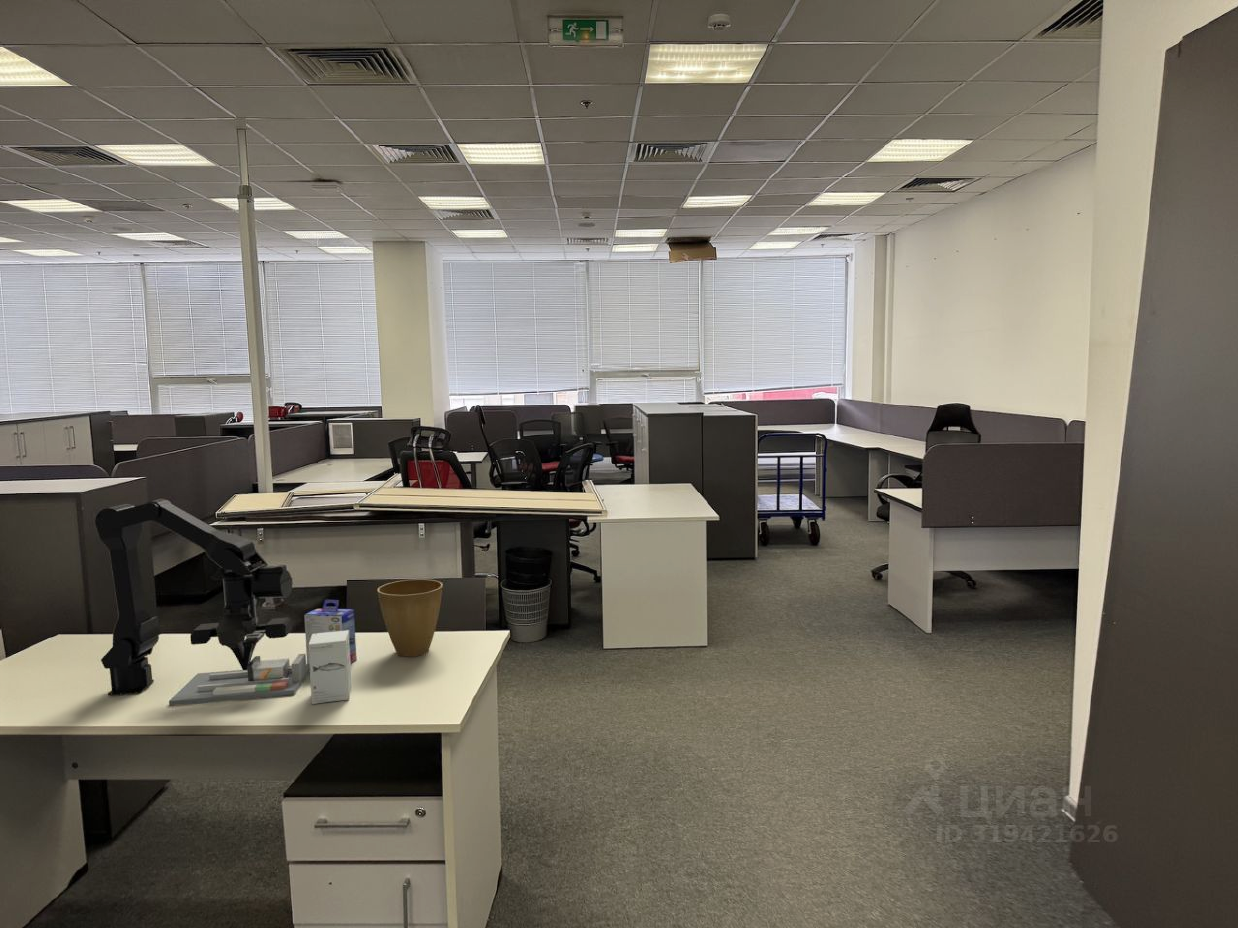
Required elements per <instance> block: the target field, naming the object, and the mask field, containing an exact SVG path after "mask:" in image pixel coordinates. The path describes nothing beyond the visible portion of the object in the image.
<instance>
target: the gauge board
mask: <svg viewBox="0 0 1238 928" xmlns="http://www.w3.org/2000/svg"><path fill="white" fill-rule="evenodd" d="M309 674H310V664H307V654H306V653H299V654H297V656H296V658H295V659H294V660H293V661H292V663H291V665H290V673H289V674H288V675H287V677H286V678H281V679H269V680H258V681H248V672H247V670H243V669H237V670H234V669H233V670H224V671H223V670H222V671H212V672H210V671H209V672H200V673H199V672H198V673H196V674H195V675H194V677H192V678H191V679H190V680H189V681H188V682H186V684H185V685H184V686H183V687H182V688H181V689H180V690H178V691H177V693H176V694H174V696H173V697H171V698H170V700H169V701H168V705H169V706H170V707H173V706H181V705H182V706H183V705H193V704H195V705H196V704H204V703H214V702H215V703H217V702H228V701H238V700H249V699H250V700H251V699H261V698H270V697H283V696H294V695H296V694H297V692H298V690H299V689H300V687H301V686H302V684H303V682H304V681H305V680H306V678H307V676H308V675H309Z"/></svg>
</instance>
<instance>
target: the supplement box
mask: <svg viewBox="0 0 1238 928" xmlns="http://www.w3.org/2000/svg"><path fill="white" fill-rule="evenodd" d="M309 663H310V672H309V674H310V675H309V676H310V680H309V681H310V692H311V693H310V694H311V696H310V697H311V704H312V705H316V704H321V703H322V704H323V703H331V702H337V701H348V700H350V695H351V690H352V667H351V666H352V665H351V664H352V663H350V645H349V630H346V631H337V632H326V633H316V634H312V636H311V639H310V642H309Z"/></svg>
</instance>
